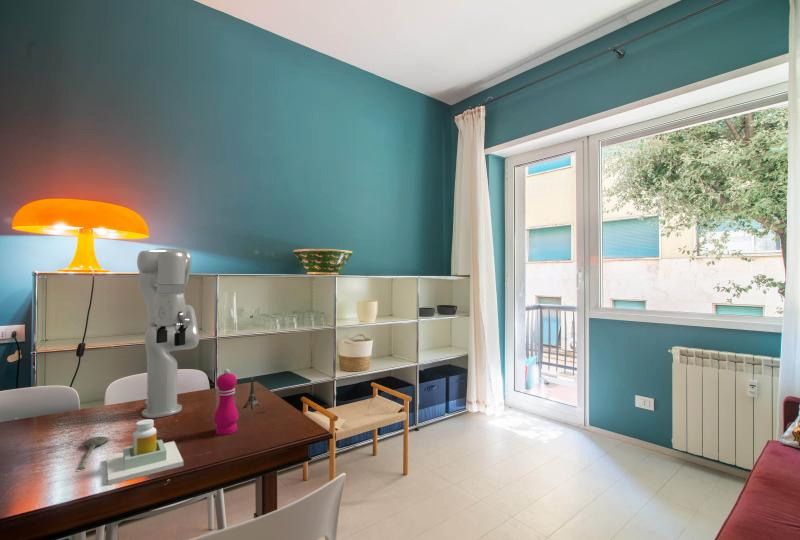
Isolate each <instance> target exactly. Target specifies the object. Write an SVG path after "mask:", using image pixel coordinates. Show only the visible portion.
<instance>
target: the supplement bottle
mask: <svg viewBox="0 0 800 540" xmlns="http://www.w3.org/2000/svg"><path fill="white" fill-rule="evenodd" d="M154 425H155V423H154V419H153V418H148V419H142V420H139V421H137V422H135V429H136V430H135V431H134V432H133V433H132V446H133V456H137V455H142V454H146V453H150V452H155V451H156V441H157V440H158V439H157V433H158V432H157V428H156V427H154Z"/></svg>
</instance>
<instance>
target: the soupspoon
mask: <svg viewBox="0 0 800 540" xmlns="http://www.w3.org/2000/svg"><path fill="white" fill-rule="evenodd" d="M109 441H110V438H109V437H108V436H93V437H90V438H88V439H86V440H85V441H83V442H82V444H81V445H82V446H83V445H84V446H87V447H90V448H89V449H88V450H87V453H86V456H85V457H84V460H83V461H82V462H81V464H80V466H78V467H77V468H76V471H77V470H82V469H85V470H86V467H85V466H86V464H87V462H88V460H89V458H90V455H91V454H92V452H93V450H94V449H95V448H96V447H97V446H99V445H102V444H104V443H106V442H109Z"/></svg>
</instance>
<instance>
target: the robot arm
mask: <svg viewBox="0 0 800 540" xmlns="http://www.w3.org/2000/svg"><path fill="white" fill-rule="evenodd" d="M136 263H137V269H138V271H139V273H138V274H137V282H138V288H139V291H140V293H141V296H142V297H143V299H144V301H145V303H146V309H147V310H146V311H147V314H146V315H147V322H148V324H149V327H150V328H148V329H147V330H146V332H145V334H144V345H145V350H146V362H147V364H146V366H147V367H146V368H147V369H146V375H147V376H146V380H147V381H146V399H145V401H144V404H145V405H146V408H145V409H143V410H142V411H141V416H142V417H144V418H148V419H155V418H163V417H169V416H172V415H175V414H177V413H179V412H181V411H182V409H183V406H182V405H181V404H179V403H178V362H177V359H176V358H175V357H174V356H173V355H172V354H170V352H174V351H184V350H185V351H186V350H193V349H195V348H196V347H197V346H198V345H199V343H200V342H199V341H200V333H199V328H198V322H197V316H196V312H195V308H193V306H192V305H190V304H186V299H185V293H186V292H185V290H186V289H185V288H186V286H187V285H188V283H189V279H190V278H189V277H190V272H191V268H192V256H191V253H190V251H188V250H187V249H183V248H164V247H163V248H161V247H160V248H159V247H158V248H155V249H149V250H148V249H147V250H141V251H139V253H138V255H137V261H136Z"/></svg>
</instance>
